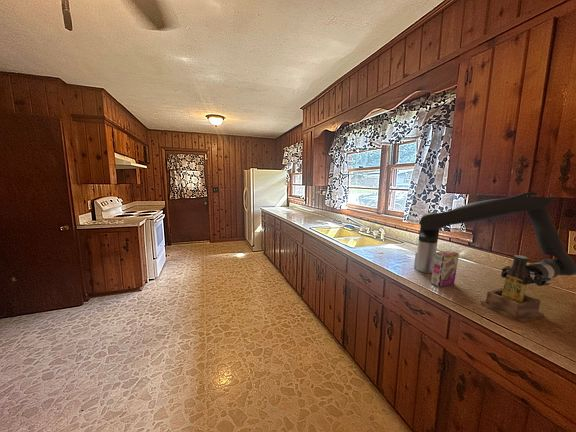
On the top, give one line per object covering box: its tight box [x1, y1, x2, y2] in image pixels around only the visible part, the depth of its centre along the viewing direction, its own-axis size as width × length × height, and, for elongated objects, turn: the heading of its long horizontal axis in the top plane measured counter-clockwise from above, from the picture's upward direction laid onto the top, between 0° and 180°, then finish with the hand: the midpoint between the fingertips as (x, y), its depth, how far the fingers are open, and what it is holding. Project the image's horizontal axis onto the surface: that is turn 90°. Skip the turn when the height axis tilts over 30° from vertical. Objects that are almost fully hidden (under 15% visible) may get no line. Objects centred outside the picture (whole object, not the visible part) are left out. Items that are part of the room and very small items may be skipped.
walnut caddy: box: [480, 287, 544, 324], centre depth 96 cm, size 14×14×6 cm
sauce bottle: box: [502, 254, 529, 303], centre depth 95 cm, size 7×6×20 cm
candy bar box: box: [430, 250, 460, 288], centre depth 118 cm, size 11×5×16 cm, turn 111°
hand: (513, 278), depth 94 cm, fingers closed on sauce bottle, 6 cm apart
